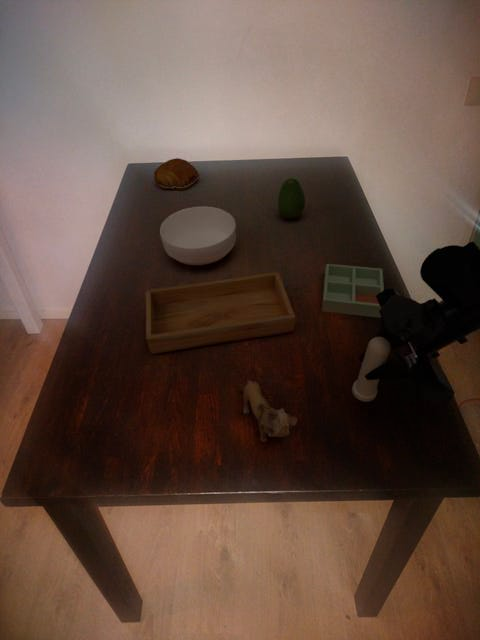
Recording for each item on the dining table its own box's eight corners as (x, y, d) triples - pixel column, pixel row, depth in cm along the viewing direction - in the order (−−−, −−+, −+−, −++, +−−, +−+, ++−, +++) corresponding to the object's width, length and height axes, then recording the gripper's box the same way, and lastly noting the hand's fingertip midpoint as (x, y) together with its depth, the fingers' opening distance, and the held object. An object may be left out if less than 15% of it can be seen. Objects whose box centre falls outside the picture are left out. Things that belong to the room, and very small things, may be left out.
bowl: (238, 231, 111) (236, 204, 105) (236, 274, 97) (234, 247, 91) (171, 233, 112) (165, 207, 106) (160, 276, 98) (153, 249, 92)
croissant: (150, 190, 135) (142, 169, 129) (181, 167, 141) (174, 147, 135) (178, 201, 128) (171, 179, 122) (209, 177, 134) (204, 155, 128)
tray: (277, 288, 93) (278, 270, 89) (294, 333, 83) (295, 315, 79) (151, 307, 91) (145, 289, 86) (151, 356, 80) (145, 339, 76)
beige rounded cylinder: (378, 386, 66) (398, 335, 56) (373, 405, 63) (393, 354, 54) (355, 378, 67) (370, 327, 57) (349, 396, 65) (364, 346, 55)
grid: (379, 280, 94) (382, 268, 91) (381, 318, 85) (385, 306, 82) (324, 274, 96) (326, 263, 93) (321, 311, 87) (323, 299, 85)
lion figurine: (298, 442, 66) (302, 415, 59) (274, 459, 64) (275, 434, 57) (248, 384, 74) (247, 355, 68) (226, 398, 72) (222, 370, 66)
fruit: (309, 220, 113) (313, 181, 105) (285, 227, 111) (287, 188, 103) (295, 207, 118) (297, 170, 110) (272, 214, 116) (273, 176, 108)
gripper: (404, 244, 55) (319, 304, 63) (463, 343, 42) (347, 403, 50) (440, 282, 60) (358, 333, 68) (502, 379, 48) (392, 428, 56)
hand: (363, 368), depth 60 cm, fingers closed on beige rounded cylinder, 3 cm apart
